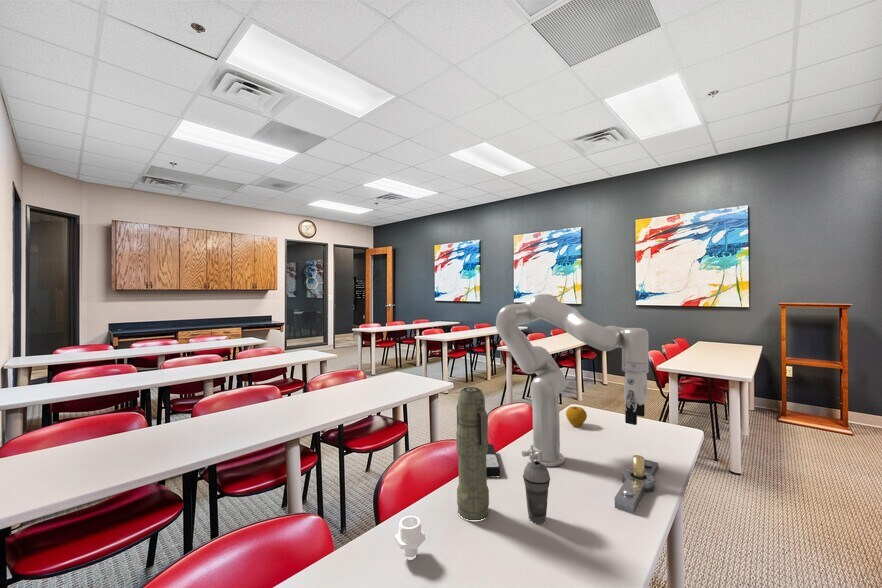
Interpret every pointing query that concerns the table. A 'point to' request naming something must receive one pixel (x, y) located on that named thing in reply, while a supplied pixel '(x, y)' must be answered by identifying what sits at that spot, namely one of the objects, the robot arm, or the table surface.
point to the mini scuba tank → (536, 490)
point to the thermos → (472, 454)
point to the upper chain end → (632, 491)
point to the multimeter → (492, 462)
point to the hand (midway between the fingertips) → (635, 419)
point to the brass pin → (638, 467)
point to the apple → (576, 416)
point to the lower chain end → (651, 469)
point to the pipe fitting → (410, 535)
